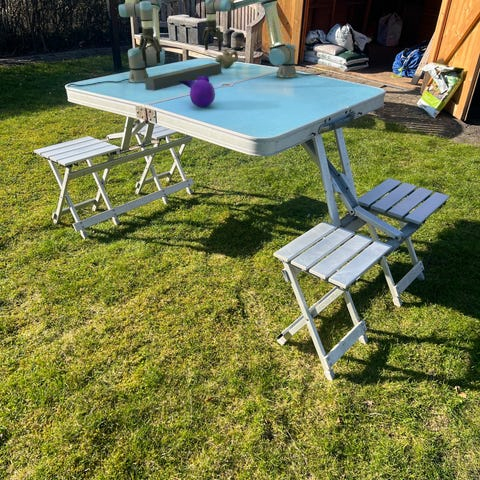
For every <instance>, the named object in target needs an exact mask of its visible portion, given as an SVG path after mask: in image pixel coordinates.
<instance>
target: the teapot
mask: <svg viewBox="0 0 480 480" xmlns="http://www.w3.org/2000/svg"><path fill="white" fill-rule="evenodd" d="M233 56H234V57H233ZM238 59H239V55H238V51H237V50H232V51H228V49H227V48H224V50H223V51H222V54H218V55H217V56H216V57H215V59H214V61H215V63H220V64H221V69H229V68H231V67H232V66H233V65H234V63H236V62H237V61H238Z"/></svg>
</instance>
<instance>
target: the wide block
mask: <svg viewBox="0 0 480 480" xmlns="http://www.w3.org/2000/svg"><path fill="white" fill-rule="evenodd" d="M222 72H223V70H222V67H221V64H220V63H218V62H210V63H206V64H200V65H197V66H193V67H188V68H187V67H186V68H183V69H179V70H174V71H169V72H166V73H161V74H156V75H152V76H149V77H147V78H145V82H144V84H145V89H146V90H151V91H157V90H160V89H161V90H162V89H165V88H169V87H172V86H173V87H174V86H177V85H180V84H181V85H182V83H180V82H179V81H197V79H198V77H202V76H208V78H209V77H212V76H216V75H221V74H222Z"/></svg>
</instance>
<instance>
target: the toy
mask: <svg viewBox="0 0 480 480" xmlns="http://www.w3.org/2000/svg"><path fill="white" fill-rule="evenodd" d="M179 82H180V83H181V85H184V86H185V87H188V88H190V89H189V97H190V101H191V103H192V104H193V105H194V106H196V107H198V108H203V109H205V108H208V107H210V106H211V105H212V104H213V102H214V101H215V98H216V91H215V88H214V85H213V84H212V83H211V82H210V78H209V77H208V76H202V77H198V79H197V80H193V81H179Z"/></svg>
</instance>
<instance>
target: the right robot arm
mask: <svg viewBox="0 0 480 480" xmlns="http://www.w3.org/2000/svg"><path fill="white" fill-rule="evenodd" d="M204 2H205V5H204V7H205V18H206V19H205V20H206V26H205V27H203V33H202V37H201V41H203V45H204V50H205V51H209V41H208V39H209V37H210V35H214V36H215V38H216V39H217V47H218V52H221V51H222V46H223V41H224V40H225V39H224V37H223V34H222V32H221V27H217V26H218V25H217V12H223V13H225V12H230V11H235V10H237V9H241V8H244V7H248V6H251V5H254V4H257V3H260V6H261V7H262V8H263V10H264V14H265V21H266V25H267V31H268V36H269V41H270V45H269V53H268V60H269V62H270V64H272V65H273V66H278V69H277V72H276V77H277V78H279V79H294V78H297V76H298V75H300V76H319V75H322V74H324V75H327V73H326V72H320V73H299V72H297V69H296V50H297V49H296V45H295V44H291V43H290V44H289V43H286V42H284V41H283V35H282V29H281V24H280V19H279V15H278V14H279V13H278V7H277V4H278V0H205V1H204Z"/></svg>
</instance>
